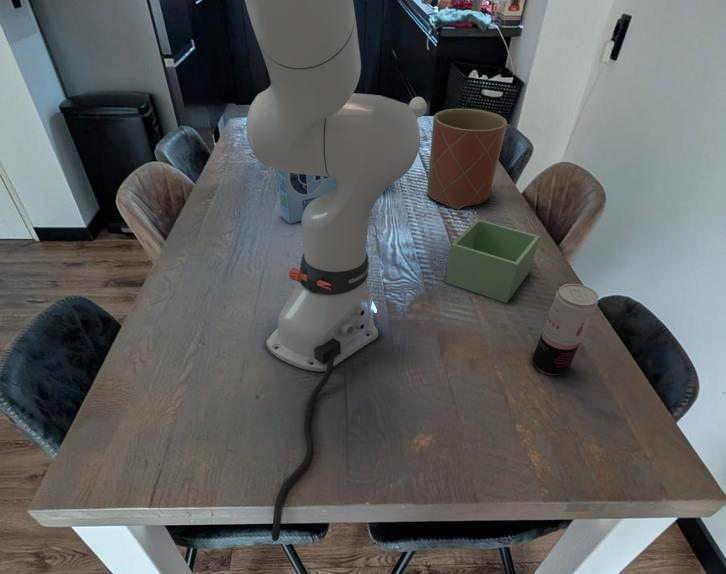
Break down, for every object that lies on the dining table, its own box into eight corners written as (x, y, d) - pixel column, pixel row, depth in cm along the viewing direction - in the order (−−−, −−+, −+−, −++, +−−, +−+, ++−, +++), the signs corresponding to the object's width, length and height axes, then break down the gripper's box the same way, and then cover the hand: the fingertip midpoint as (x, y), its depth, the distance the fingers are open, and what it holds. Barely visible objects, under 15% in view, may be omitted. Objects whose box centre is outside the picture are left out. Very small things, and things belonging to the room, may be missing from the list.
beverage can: (561, 353, 90) (591, 283, 79) (573, 376, 85) (606, 305, 74) (527, 353, 89) (552, 283, 79) (537, 376, 85) (565, 305, 74)
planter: (457, 179, 147) (470, 104, 132) (504, 200, 137) (522, 122, 122) (411, 192, 139) (418, 115, 124) (456, 217, 129) (470, 135, 114)
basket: (506, 303, 101) (517, 264, 94) (444, 282, 106) (450, 244, 99) (528, 273, 109) (540, 236, 103) (470, 255, 114) (477, 218, 108)
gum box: (343, 201, 134) (342, 108, 117) (352, 208, 131) (353, 113, 114) (280, 217, 126) (270, 119, 109) (289, 225, 123) (280, 125, 106)
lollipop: (402, 145, 167) (406, 95, 156) (416, 143, 169) (421, 93, 158) (410, 150, 163) (415, 100, 152) (425, 148, 165) (431, 98, 154)
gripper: (392, -103, 75) (391, 5, 87) (520, -90, 70) (500, 22, 82) (407, -115, 78) (404, -9, 90) (531, -104, 73) (510, 6, 85)
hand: (451, 6), depth 86 cm, fingers open, 8 cm apart
